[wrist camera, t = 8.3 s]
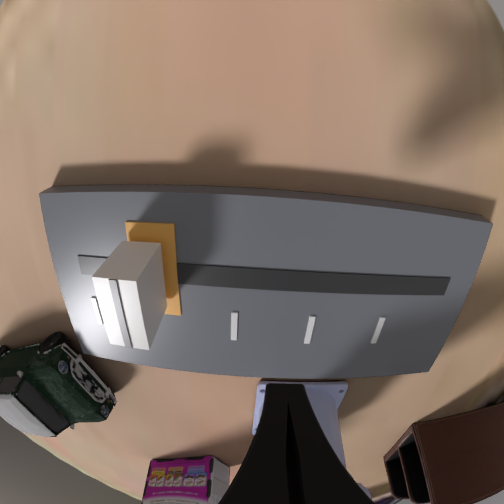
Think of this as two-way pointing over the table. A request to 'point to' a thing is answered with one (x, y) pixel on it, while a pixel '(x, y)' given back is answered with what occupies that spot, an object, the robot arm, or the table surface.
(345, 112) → the table surface
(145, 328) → the fader knob
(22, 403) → the miniature car
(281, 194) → the console board
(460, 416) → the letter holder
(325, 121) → the table surface
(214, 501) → the candy bar box
